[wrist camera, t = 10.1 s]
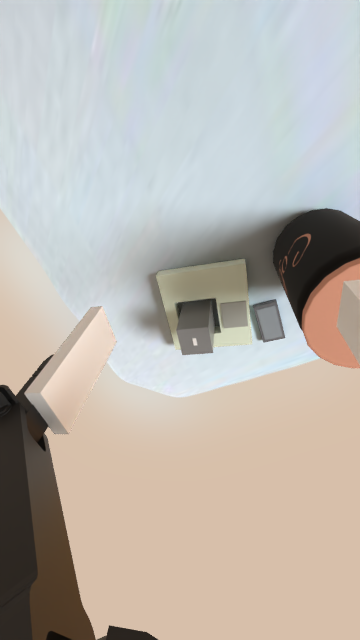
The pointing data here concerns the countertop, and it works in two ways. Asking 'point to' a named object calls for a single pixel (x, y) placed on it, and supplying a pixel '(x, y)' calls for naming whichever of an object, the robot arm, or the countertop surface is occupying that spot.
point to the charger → (196, 327)
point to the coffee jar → (319, 276)
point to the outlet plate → (208, 283)
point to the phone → (269, 321)
